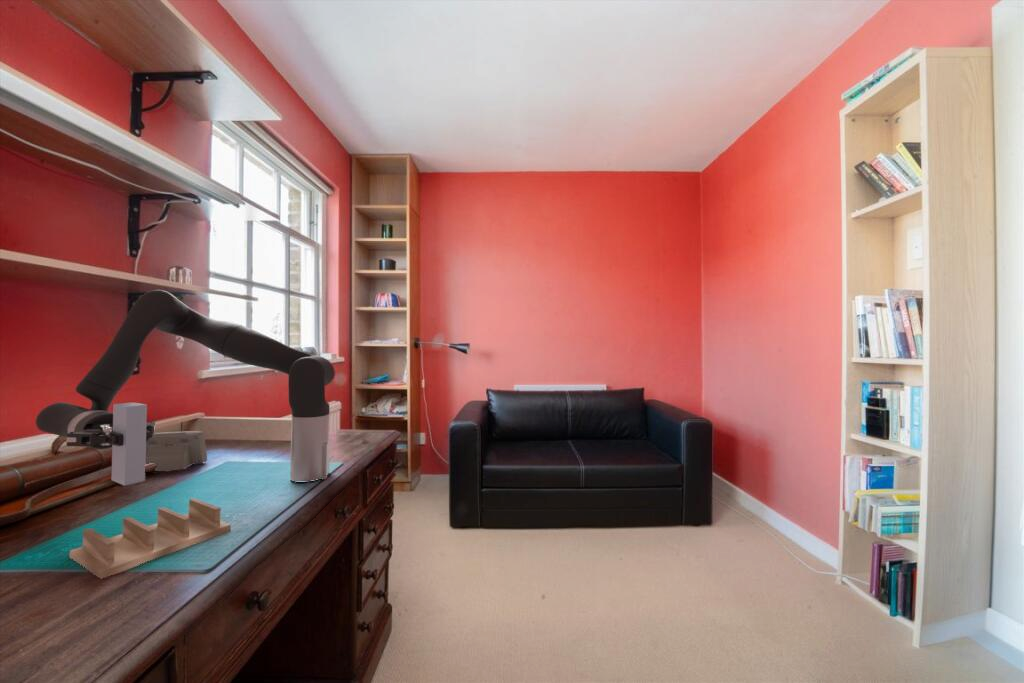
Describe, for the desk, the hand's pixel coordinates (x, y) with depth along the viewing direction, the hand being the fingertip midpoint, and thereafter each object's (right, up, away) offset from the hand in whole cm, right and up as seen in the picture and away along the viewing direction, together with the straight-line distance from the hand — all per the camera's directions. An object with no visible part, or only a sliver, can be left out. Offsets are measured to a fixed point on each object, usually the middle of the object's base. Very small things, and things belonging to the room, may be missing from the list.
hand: (133, 438), depth 75 cm
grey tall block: (-2, -8, +1) cm, 9 cm away
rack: (+9, -18, -5) cm, 21 cm away
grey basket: (-26, -18, +38) cm, 49 cm away
